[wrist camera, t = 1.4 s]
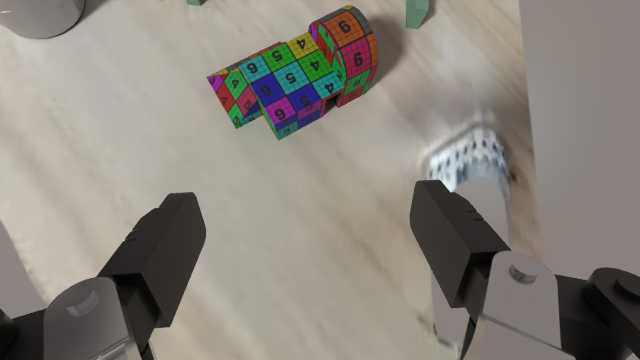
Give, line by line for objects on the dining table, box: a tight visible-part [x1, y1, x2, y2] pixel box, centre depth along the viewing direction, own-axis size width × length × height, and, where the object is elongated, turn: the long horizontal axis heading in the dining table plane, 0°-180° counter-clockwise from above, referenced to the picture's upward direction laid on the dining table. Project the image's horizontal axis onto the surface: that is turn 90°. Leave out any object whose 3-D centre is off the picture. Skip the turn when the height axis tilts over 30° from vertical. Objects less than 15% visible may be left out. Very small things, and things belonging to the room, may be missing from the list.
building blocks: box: [207, 6, 378, 140], centre depth 28 cm, size 15×10×8 cm
